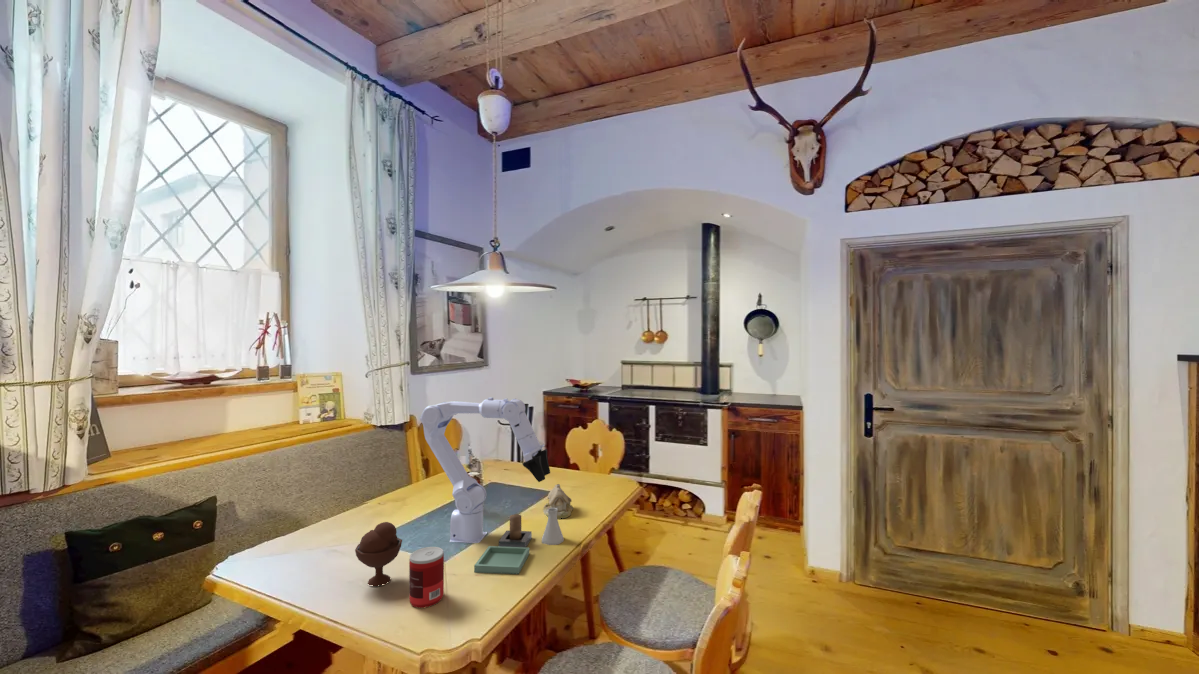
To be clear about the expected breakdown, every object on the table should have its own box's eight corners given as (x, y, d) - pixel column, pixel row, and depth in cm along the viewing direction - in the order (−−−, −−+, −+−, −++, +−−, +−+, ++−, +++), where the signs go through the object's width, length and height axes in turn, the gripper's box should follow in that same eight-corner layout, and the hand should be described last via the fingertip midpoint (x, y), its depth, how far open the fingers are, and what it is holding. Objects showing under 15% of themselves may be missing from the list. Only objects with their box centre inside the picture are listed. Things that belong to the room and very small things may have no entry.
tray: (474, 574, 127) (474, 565, 127) (488, 553, 139) (488, 546, 139) (518, 576, 126) (518, 567, 126) (529, 555, 138) (529, 547, 138)
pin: (508, 545, 144) (508, 518, 144) (511, 540, 147) (511, 514, 147) (519, 545, 143) (519, 518, 143) (522, 540, 147) (522, 514, 147)
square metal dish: (498, 549, 141) (498, 541, 142) (506, 538, 149) (506, 530, 149) (525, 550, 141) (525, 542, 141) (531, 539, 149) (531, 531, 149)
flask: (560, 547, 143) (560, 514, 143) (537, 545, 144) (537, 512, 144) (567, 538, 150) (567, 506, 150) (545, 536, 151) (545, 504, 151)
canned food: (447, 590, 119) (447, 546, 119) (437, 608, 111) (437, 560, 111) (416, 591, 118) (416, 546, 118) (404, 609, 110) (404, 561, 110)
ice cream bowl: (388, 567, 131) (388, 512, 131) (409, 580, 123) (409, 522, 124) (348, 582, 122) (348, 524, 122) (368, 597, 115) (368, 535, 115)
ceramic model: (541, 506, 178) (541, 479, 178) (571, 505, 180) (571, 478, 180) (543, 520, 164) (543, 491, 165) (576, 518, 166) (576, 489, 166)
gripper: (531, 434, 139) (551, 477, 138) (542, 427, 153) (560, 466, 152) (510, 445, 139) (530, 488, 138) (523, 437, 154) (541, 475, 153)
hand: (544, 477), depth 145 cm, fingers open, 7 cm apart
